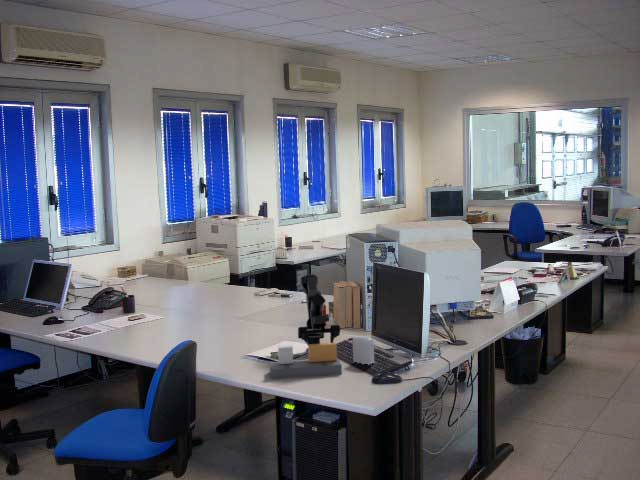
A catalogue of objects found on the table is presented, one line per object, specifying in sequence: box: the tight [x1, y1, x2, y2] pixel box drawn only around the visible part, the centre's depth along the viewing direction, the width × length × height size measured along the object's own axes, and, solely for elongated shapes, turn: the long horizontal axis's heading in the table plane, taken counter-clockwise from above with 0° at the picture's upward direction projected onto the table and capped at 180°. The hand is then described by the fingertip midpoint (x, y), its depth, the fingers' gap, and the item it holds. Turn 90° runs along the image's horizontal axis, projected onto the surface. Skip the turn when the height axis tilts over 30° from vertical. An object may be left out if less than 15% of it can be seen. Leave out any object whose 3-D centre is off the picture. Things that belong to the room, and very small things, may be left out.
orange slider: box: [307, 342, 338, 362], centre depth 296 cm, size 3×12×7 cm, turn 97°
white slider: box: [277, 345, 294, 364], centre depth 294 cm, size 3×6×7 cm, turn 97°
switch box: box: [268, 358, 343, 380], centre depth 293 cm, size 10×30×4 cm, turn 97°
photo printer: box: [352, 335, 375, 366], centre depth 304 cm, size 10×4×12 cm, turn 47°
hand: (321, 347), depth 301 cm, fingers open, 9 cm apart
